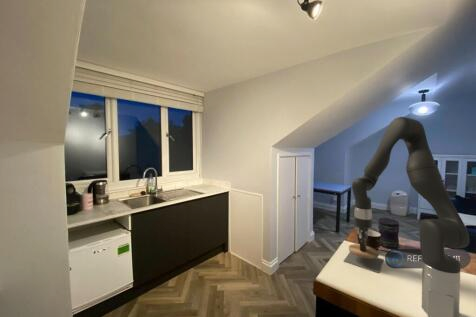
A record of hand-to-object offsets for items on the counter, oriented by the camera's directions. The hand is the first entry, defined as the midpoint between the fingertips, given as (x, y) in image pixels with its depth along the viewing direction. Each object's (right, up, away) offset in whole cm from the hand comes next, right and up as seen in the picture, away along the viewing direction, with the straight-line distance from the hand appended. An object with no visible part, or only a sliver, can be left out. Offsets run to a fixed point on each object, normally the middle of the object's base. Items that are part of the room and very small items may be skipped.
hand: (363, 249), depth 102 cm
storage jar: (+25, -5, +15) cm, 29 cm away
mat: (+1, -6, +1) cm, 6 cm away
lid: (0, -1, 0) cm, 1 cm away
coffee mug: (+11, -6, +9) cm, 15 cm away
